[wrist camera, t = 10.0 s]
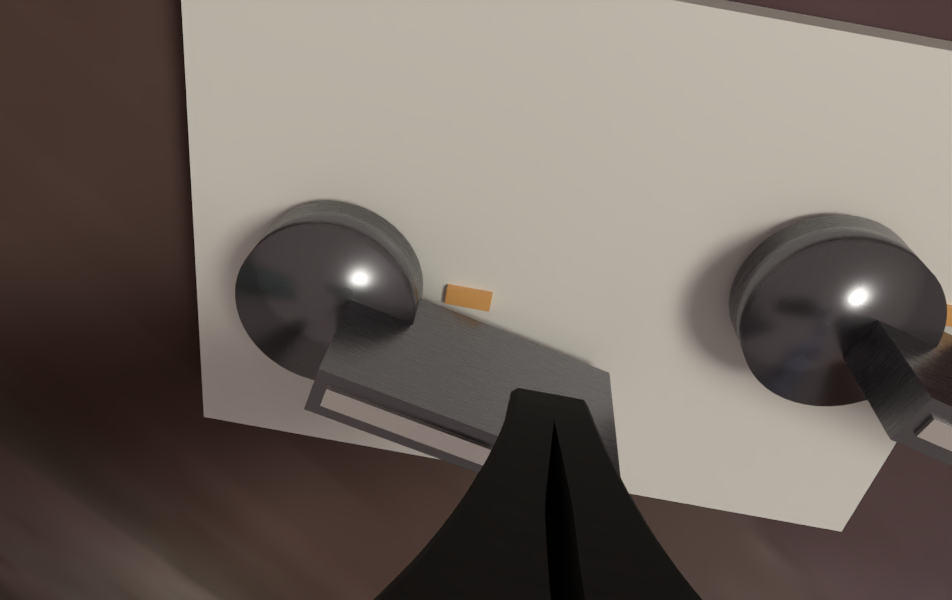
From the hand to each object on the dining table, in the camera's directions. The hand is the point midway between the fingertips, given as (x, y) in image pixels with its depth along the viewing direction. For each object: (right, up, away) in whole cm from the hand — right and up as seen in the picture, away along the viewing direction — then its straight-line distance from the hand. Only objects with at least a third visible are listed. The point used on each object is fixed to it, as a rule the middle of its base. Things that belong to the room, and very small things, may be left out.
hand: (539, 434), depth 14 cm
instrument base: (+1, +4, +7) cm, 8 cm away
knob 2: (-2, +2, +6) cm, 7 cm away
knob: (+10, +2, +5) cm, 11 cm away
